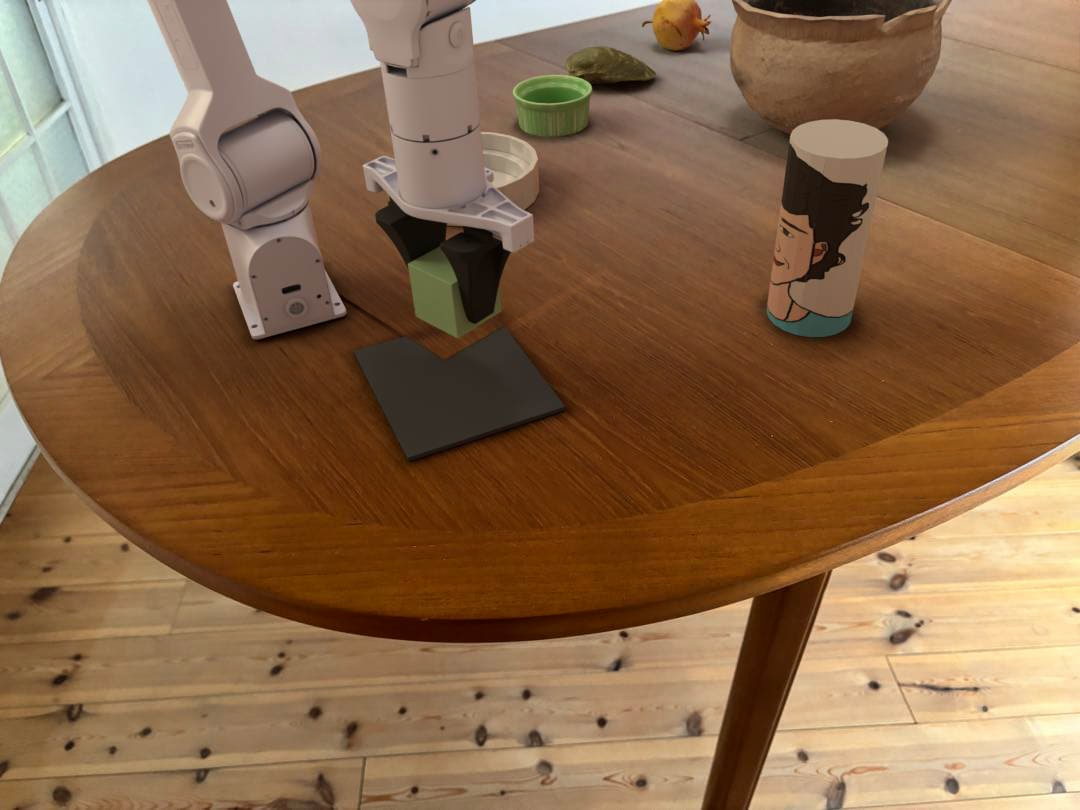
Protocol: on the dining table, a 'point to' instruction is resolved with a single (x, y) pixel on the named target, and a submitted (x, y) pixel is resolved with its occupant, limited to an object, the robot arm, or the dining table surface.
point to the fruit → (678, 23)
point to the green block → (441, 294)
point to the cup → (824, 225)
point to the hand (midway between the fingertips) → (457, 304)
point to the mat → (455, 391)
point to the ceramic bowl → (834, 58)
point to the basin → (511, 167)
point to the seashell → (607, 66)
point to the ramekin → (553, 105)
